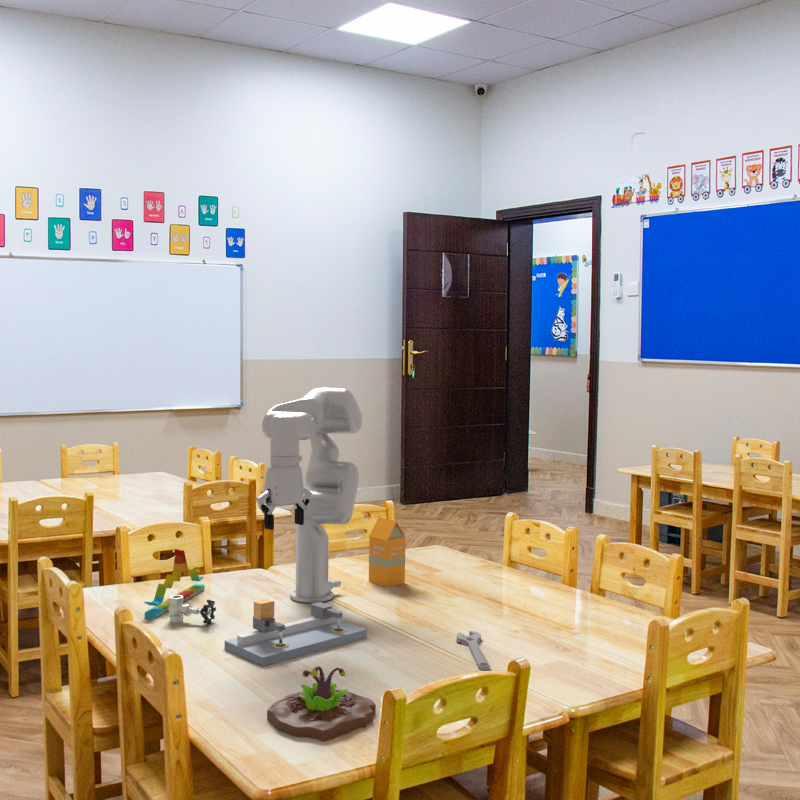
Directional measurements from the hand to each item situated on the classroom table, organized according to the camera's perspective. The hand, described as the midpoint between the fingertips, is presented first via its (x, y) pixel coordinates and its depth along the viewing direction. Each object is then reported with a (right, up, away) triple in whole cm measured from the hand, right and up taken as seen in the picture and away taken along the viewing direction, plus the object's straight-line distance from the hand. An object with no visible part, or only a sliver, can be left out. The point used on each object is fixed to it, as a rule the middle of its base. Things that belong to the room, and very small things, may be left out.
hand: (284, 526), depth 238 cm
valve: (-25, -26, +3) cm, 37 cm away
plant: (+15, -31, -58) cm, 67 cm away
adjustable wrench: (+48, -29, -17) cm, 59 cm away
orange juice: (+26, -24, +48) cm, 59 cm away
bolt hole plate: (+5, -27, -13) cm, 30 cm away
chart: (-33, -25, +20) cm, 46 cm away
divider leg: (-1, -25, -18) cm, 31 cm away
